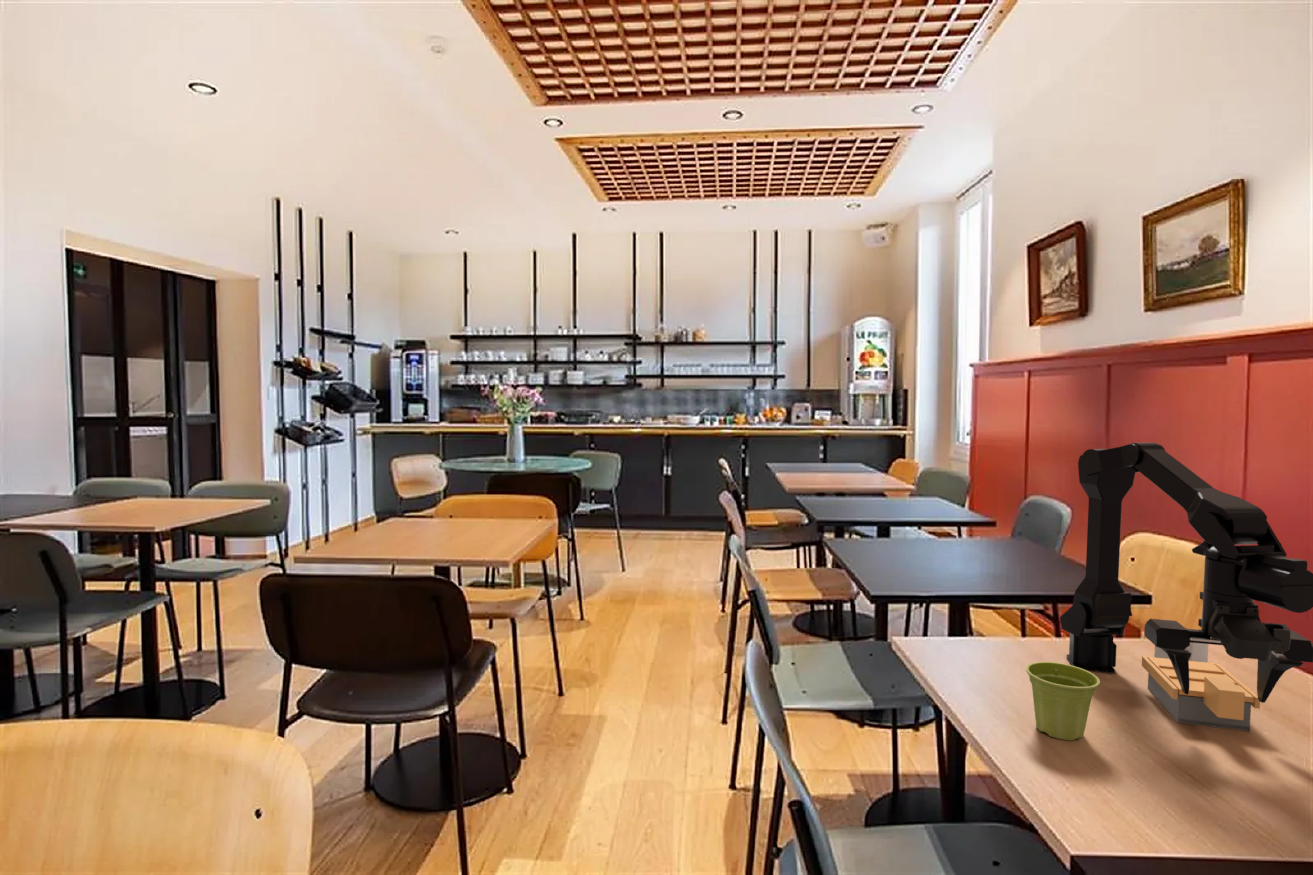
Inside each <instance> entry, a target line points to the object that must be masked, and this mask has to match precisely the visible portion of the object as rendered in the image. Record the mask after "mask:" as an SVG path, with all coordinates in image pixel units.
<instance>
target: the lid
mask: <svg viewBox="0 0 1313 875" xmlns="http://www.w3.org/2000/svg"><path fill="white" fill-rule="evenodd" d="M1141 666H1142V668H1143V669H1144V670H1145V671H1146V672H1147V674H1148V673H1149V674H1150V675H1151V676H1152V677H1153V678H1154V679H1155V680H1156V681H1157V683H1158V684H1159V685H1160V686H1161V687H1162V688H1163V689H1164V690H1165V691H1166V692H1167V693H1168V694H1169V695H1170V696H1171V698H1172V699H1178V694H1180V695H1189V696H1198V697H1203V703H1204V704H1205V705H1206V706H1207V707H1208V708H1209V709H1210V710H1211V711H1212V712H1213V713H1214V714H1215V715H1216V716H1217V717H1220V718H1228V719H1237V720H1243V719H1244V702H1250V703H1251V707H1253V708H1254V709H1260V707H1261V702H1260V701H1259V700H1258V695H1257V693H1255V692H1253V691H1252V690H1251V689H1250V688H1249V687H1248V686H1246V685H1245V684H1244V683H1243V682H1242V681H1240V680H1239V679H1238V678H1237V677H1235V676H1234V675H1233V674H1232V673H1231V672H1229V671H1228V670H1227V669H1226V668H1224V667H1223V666H1222V665H1221V664H1219V663H1216V662H1215V663H1213V662H1207V663H1206V662H1196V661H1189V684H1190V686H1189V693H1188V694H1185V693H1184V692H1183V691H1182V689H1181V686H1180V683H1179V681H1178V678H1177V675H1176V673H1175V670H1174V668H1173V665H1172V663H1171V660H1170V659H1165V658H1155V657H1154V656H1144V655H1142V656H1141Z"/></svg>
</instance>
